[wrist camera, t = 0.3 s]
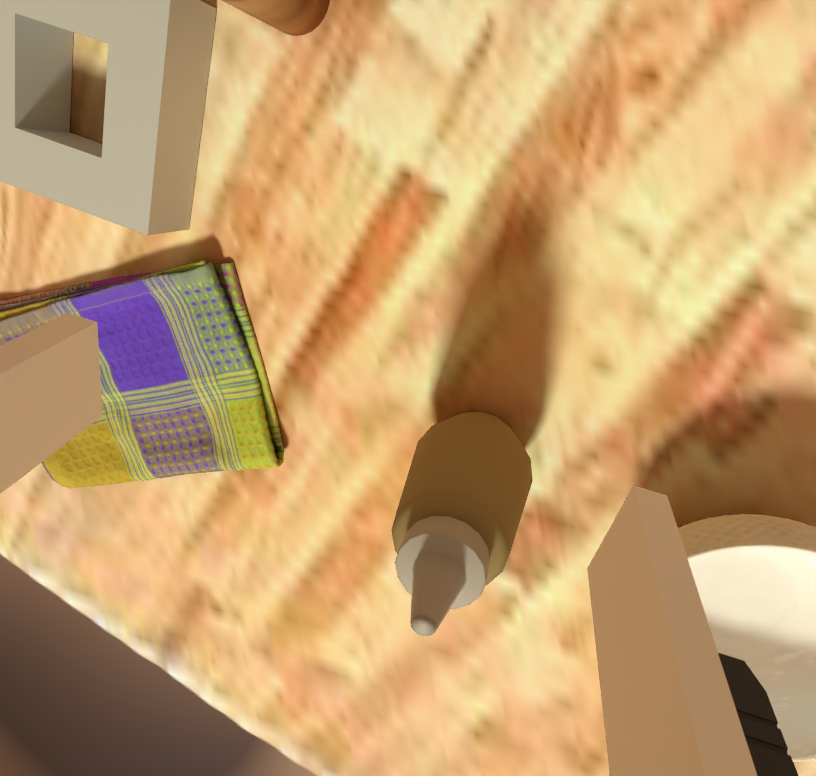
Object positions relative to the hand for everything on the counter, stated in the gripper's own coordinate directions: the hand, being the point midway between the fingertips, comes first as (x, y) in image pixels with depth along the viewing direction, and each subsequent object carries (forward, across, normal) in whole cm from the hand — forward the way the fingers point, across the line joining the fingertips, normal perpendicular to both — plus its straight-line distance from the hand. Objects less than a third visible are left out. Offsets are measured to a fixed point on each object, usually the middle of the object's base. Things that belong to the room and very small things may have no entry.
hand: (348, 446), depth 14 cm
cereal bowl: (+22, +25, -18) cm, 38 cm away
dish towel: (+26, -23, -20) cm, 40 cm away
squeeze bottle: (+24, +6, -15) cm, 29 cm away
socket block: (+28, -26, +1) cm, 38 cm away
